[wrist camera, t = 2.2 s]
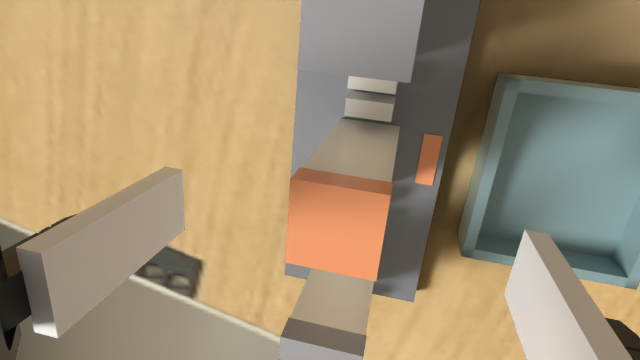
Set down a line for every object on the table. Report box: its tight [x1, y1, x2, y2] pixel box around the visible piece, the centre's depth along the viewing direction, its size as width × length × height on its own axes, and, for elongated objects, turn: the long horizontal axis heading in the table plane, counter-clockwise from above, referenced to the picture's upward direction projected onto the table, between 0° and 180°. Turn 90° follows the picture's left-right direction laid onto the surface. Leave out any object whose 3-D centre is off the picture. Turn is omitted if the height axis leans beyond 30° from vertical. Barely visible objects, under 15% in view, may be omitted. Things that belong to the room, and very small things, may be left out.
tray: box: [457, 72, 640, 289], centre depth 21 cm, size 10×9×2 cm
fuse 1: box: [298, 0, 425, 83], centre depth 16 cm, size 4×4×10 cm
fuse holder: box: [285, 0, 480, 302], centre depth 23 cm, size 21×9×4 cm, turn 175°
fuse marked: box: [285, 118, 400, 281], centre depth 19 cm, size 4×4×10 cm
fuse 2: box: [279, 268, 374, 360], centre depth 21 cm, size 4×4×10 cm
